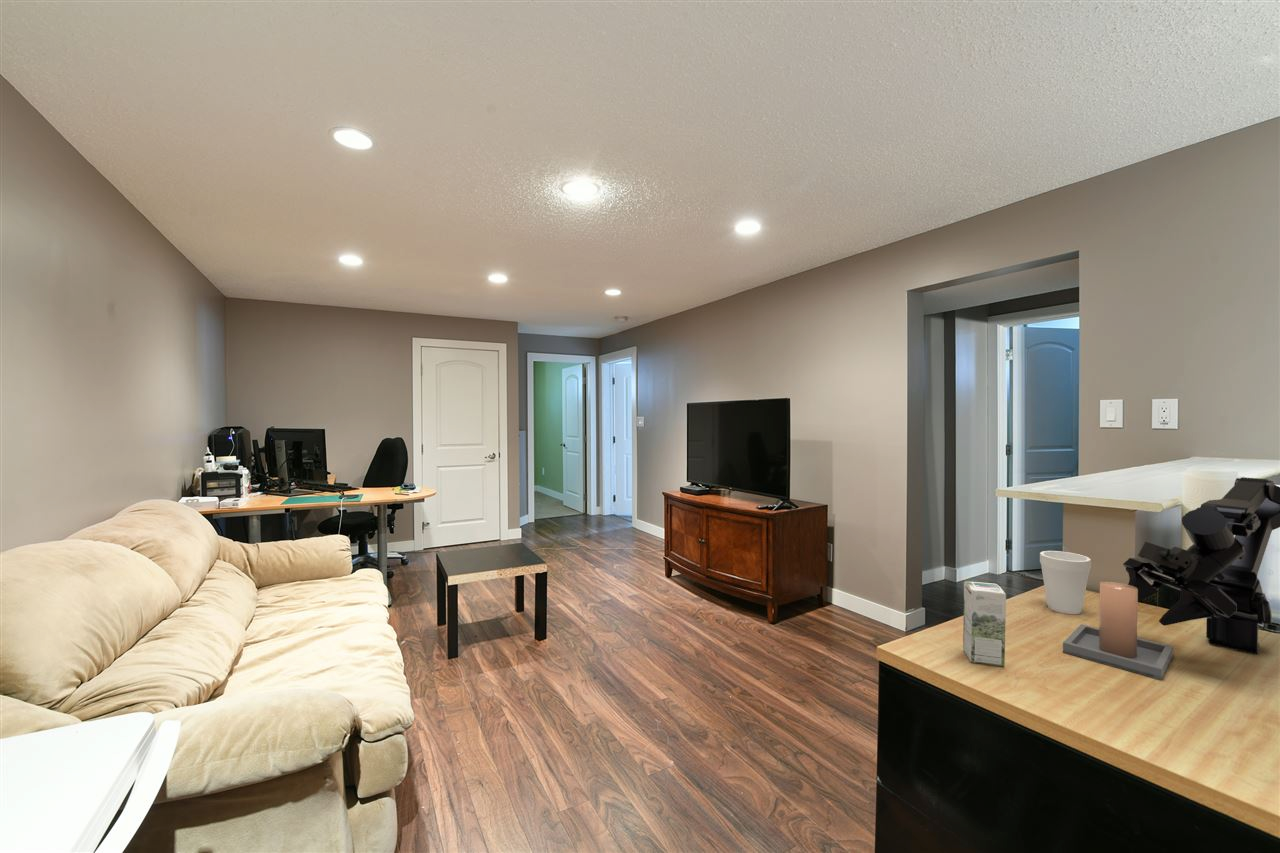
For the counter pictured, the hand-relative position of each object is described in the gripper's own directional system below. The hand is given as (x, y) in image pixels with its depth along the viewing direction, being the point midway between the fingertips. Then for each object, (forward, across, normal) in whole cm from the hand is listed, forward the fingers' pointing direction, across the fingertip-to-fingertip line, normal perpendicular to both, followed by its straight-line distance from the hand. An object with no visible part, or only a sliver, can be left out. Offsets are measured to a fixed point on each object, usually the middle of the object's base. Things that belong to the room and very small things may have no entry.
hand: (1141, 613), depth 102 cm
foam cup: (+5, -24, +7) cm, 25 cm away
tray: (+9, 0, +3) cm, 9 cm away
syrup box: (+28, +5, -16) cm, 33 cm away
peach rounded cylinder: (+8, 0, +2) cm, 9 cm away
